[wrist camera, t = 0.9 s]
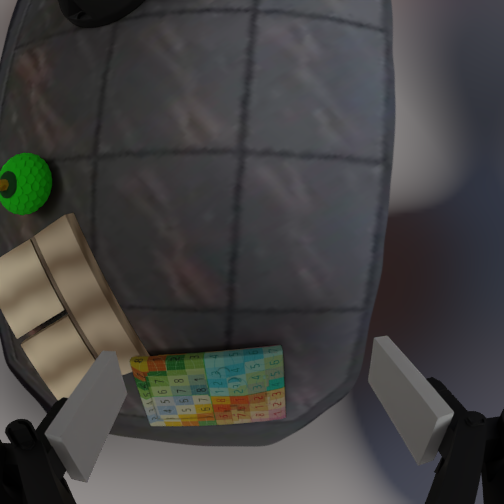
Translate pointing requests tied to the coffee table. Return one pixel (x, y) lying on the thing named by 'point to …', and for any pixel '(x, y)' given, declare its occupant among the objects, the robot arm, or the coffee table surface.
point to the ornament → (25, 183)
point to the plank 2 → (59, 356)
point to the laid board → (86, 291)
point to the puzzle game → (212, 386)
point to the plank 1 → (26, 290)
